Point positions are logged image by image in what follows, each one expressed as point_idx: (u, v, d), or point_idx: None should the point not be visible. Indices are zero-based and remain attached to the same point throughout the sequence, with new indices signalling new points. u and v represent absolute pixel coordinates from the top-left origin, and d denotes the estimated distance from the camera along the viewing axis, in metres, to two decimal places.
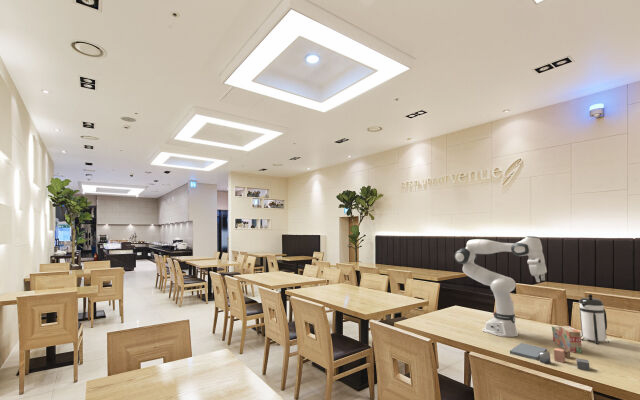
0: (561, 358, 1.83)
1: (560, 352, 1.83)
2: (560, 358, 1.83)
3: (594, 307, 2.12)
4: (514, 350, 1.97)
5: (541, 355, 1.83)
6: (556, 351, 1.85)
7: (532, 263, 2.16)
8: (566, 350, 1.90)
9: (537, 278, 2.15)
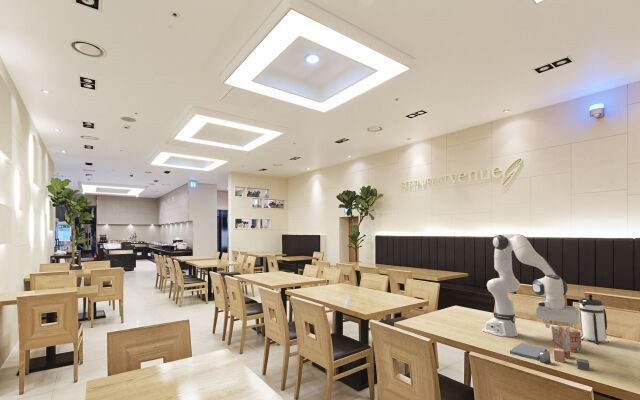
0: (561, 358, 1.83)
1: (560, 352, 1.83)
2: (560, 358, 1.83)
3: (594, 307, 2.12)
4: (514, 350, 1.97)
5: (541, 355, 1.83)
6: (556, 351, 1.85)
7: None
8: (566, 350, 1.90)
9: None
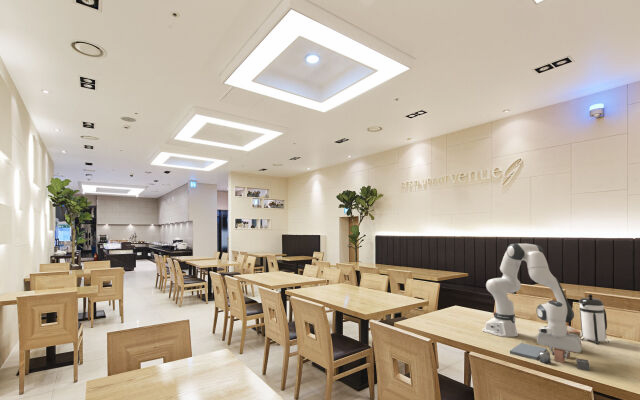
0: (561, 358, 1.83)
1: (560, 352, 1.83)
2: (560, 358, 1.83)
3: (594, 307, 2.12)
4: (514, 350, 1.97)
5: (541, 355, 1.83)
6: (556, 351, 1.85)
7: None
8: None
9: None
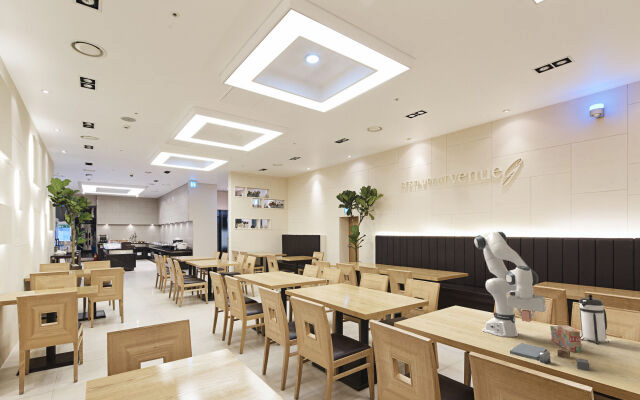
0: (528, 318, 1.98)
1: (527, 312, 1.98)
2: (527, 318, 1.98)
3: (594, 307, 2.12)
4: (514, 350, 1.97)
5: (541, 355, 1.83)
6: (523, 312, 2.00)
7: None
8: (566, 350, 1.90)
9: None
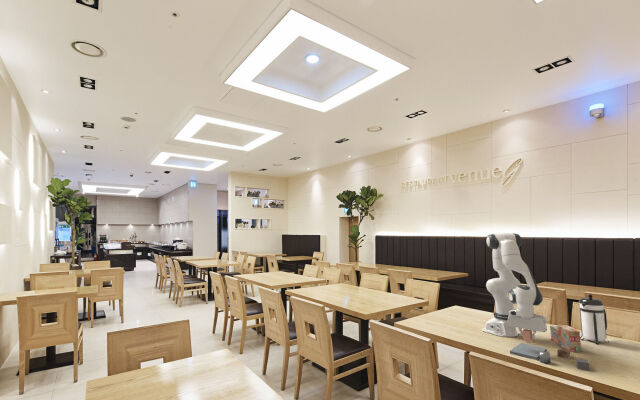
0: (529, 338, 1.96)
1: (528, 332, 1.97)
2: (528, 338, 1.97)
3: (594, 307, 2.12)
4: (514, 350, 1.97)
5: (541, 355, 1.83)
6: (524, 331, 1.98)
7: None
8: (566, 350, 1.90)
9: None
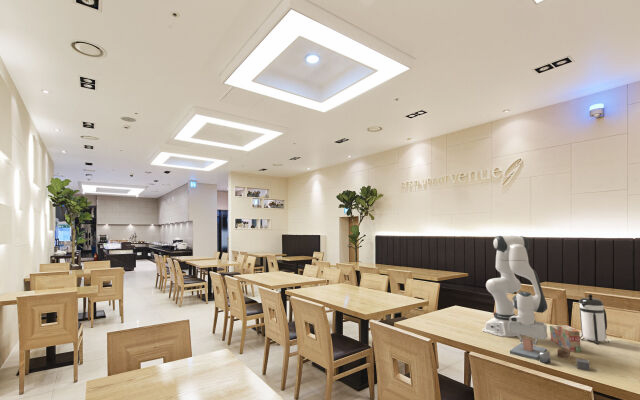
0: (529, 347, 1.96)
1: (528, 341, 1.97)
2: (528, 347, 1.97)
3: (594, 307, 2.12)
4: (514, 350, 1.97)
5: (541, 355, 1.83)
6: (525, 340, 1.98)
7: None
8: (566, 350, 1.90)
9: None
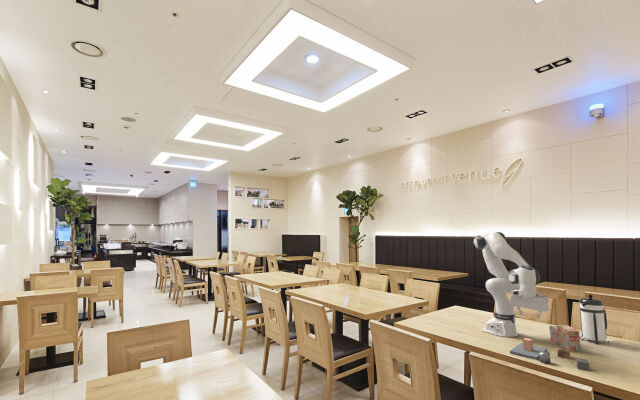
0: (529, 347, 1.96)
1: (528, 341, 1.97)
2: (528, 347, 1.97)
3: (594, 307, 2.12)
4: (514, 350, 1.97)
5: (541, 355, 1.83)
6: (525, 340, 1.98)
7: None
8: (566, 350, 1.90)
9: None
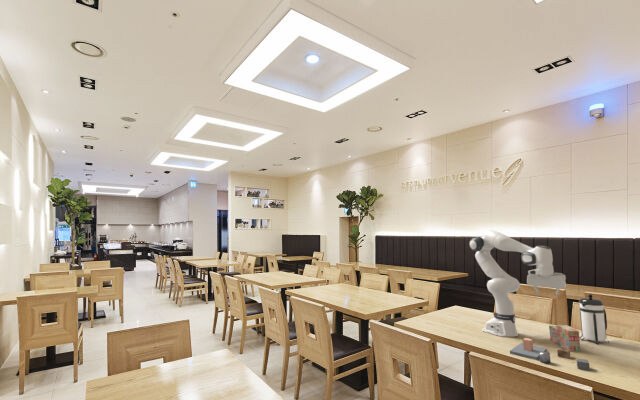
0: (529, 347, 1.96)
1: (528, 341, 1.97)
2: (528, 347, 1.97)
3: (594, 307, 2.12)
4: (514, 350, 1.97)
5: (541, 355, 1.83)
6: (525, 340, 1.98)
7: None
8: (566, 350, 1.90)
9: None
